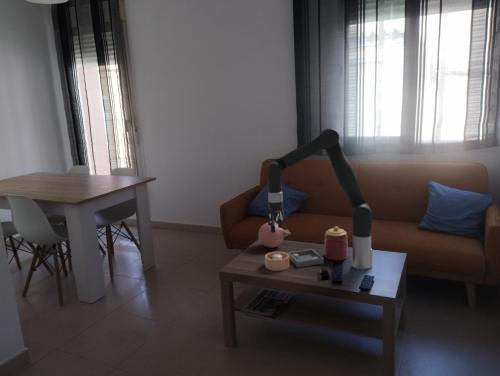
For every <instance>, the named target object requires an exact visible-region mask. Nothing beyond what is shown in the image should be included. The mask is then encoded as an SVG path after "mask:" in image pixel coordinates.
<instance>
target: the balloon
mask: <svg viewBox="0 0 500 376" xmlns="http://www.w3.org/2000/svg"><path fill="white" fill-rule="evenodd" d="M273 223H274V222H273ZM258 230H259V231H258V235H257V236H258V240H259V241H260V243H261V244H262V246H264V247H266V248H271V249H272V248H276V247H278V246H280V245H281V244H282V242H283V241H284V238H285V237H288V236H289V235H291V234H292V233H291V232H290V231H289V229H284V228H283V227H282V228H278V222H276V223H275V233H272V232H271V226H270V225H268V222H266V223H263V224H262V226H261V227H259V229H258Z"/></svg>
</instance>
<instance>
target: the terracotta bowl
mask: <svg viewBox="0 0 500 376" xmlns="http://www.w3.org/2000/svg"><path fill="white" fill-rule="evenodd" d="M274 254H280V255H282V259H280V260H273V257H272V256H273V255H274ZM264 266H265V268H266V269H267V270H269V271H274V272H275V271H276V272H277V271H278V272H279V271H284V270H285V271H286V270H287V269H289V268H290V259H289V255H288V252H284V251H272V252H271V251H270V252H268V253H266V254H265V255H264Z"/></svg>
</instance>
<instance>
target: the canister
mask: <svg viewBox="0 0 500 376" xmlns="http://www.w3.org/2000/svg"><path fill="white" fill-rule="evenodd" d="M323 238H324V239H325V240H324V257H325V258H326V259H327V260H329V261H330V260H331V261H344V260H346V259H347V258H348V257H349V247H348V246H349V241H348V239H349V236H348V235H347V231H346V230H345V229H342V228H339V226H336V225H335V226H334V227H333V228H329V229H328V230H326V231H325V235H324V237H323Z"/></svg>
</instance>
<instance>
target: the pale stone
mask: <svg viewBox="0 0 500 376" xmlns="http://www.w3.org/2000/svg"><path fill="white" fill-rule="evenodd" d="M272 257H273V260H280V259H282V255H280V254H274V255H273V256H272Z"/></svg>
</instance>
